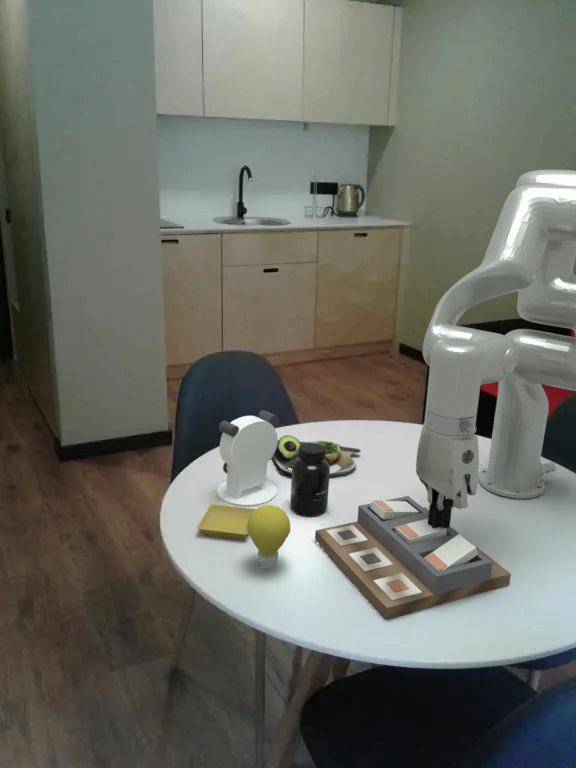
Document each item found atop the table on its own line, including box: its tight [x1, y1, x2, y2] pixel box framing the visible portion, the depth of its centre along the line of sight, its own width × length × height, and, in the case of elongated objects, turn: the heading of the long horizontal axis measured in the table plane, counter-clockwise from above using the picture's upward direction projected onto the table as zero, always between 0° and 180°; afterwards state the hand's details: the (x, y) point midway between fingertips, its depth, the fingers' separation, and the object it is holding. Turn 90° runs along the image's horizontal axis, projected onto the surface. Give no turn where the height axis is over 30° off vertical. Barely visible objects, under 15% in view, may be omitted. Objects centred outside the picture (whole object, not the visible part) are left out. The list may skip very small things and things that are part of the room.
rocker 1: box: [371, 499, 419, 519], centre depth 113 cm, size 7×4×2 cm, turn 114°
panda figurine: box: [216, 409, 280, 507], centre depth 126 cm, size 12×11×15 cm
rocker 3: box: [424, 533, 478, 571], centre depth 100 cm, size 7×4×2 cm, turn 114°
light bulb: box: [247, 504, 291, 570], centre depth 103 cm, size 7×7×10 cm
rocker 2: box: [395, 518, 447, 545], centre depth 106 cm, size 7×4×2 cm, turn 114°
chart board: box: [314, 506, 512, 621], centre depth 107 cm, size 22×22×2 cm
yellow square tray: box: [196, 503, 257, 540], centre depth 115 cm, size 9×9×2 cm
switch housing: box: [356, 495, 492, 595], centre depth 107 cm, size 10×22×3 cm, turn 24°
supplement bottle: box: [289, 443, 331, 517], centre depth 121 cm, size 7×7×12 cm
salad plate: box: [272, 434, 362, 478], centre depth 142 cm, size 19×18×5 cm
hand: (438, 526), depth 107 cm, fingers closed
